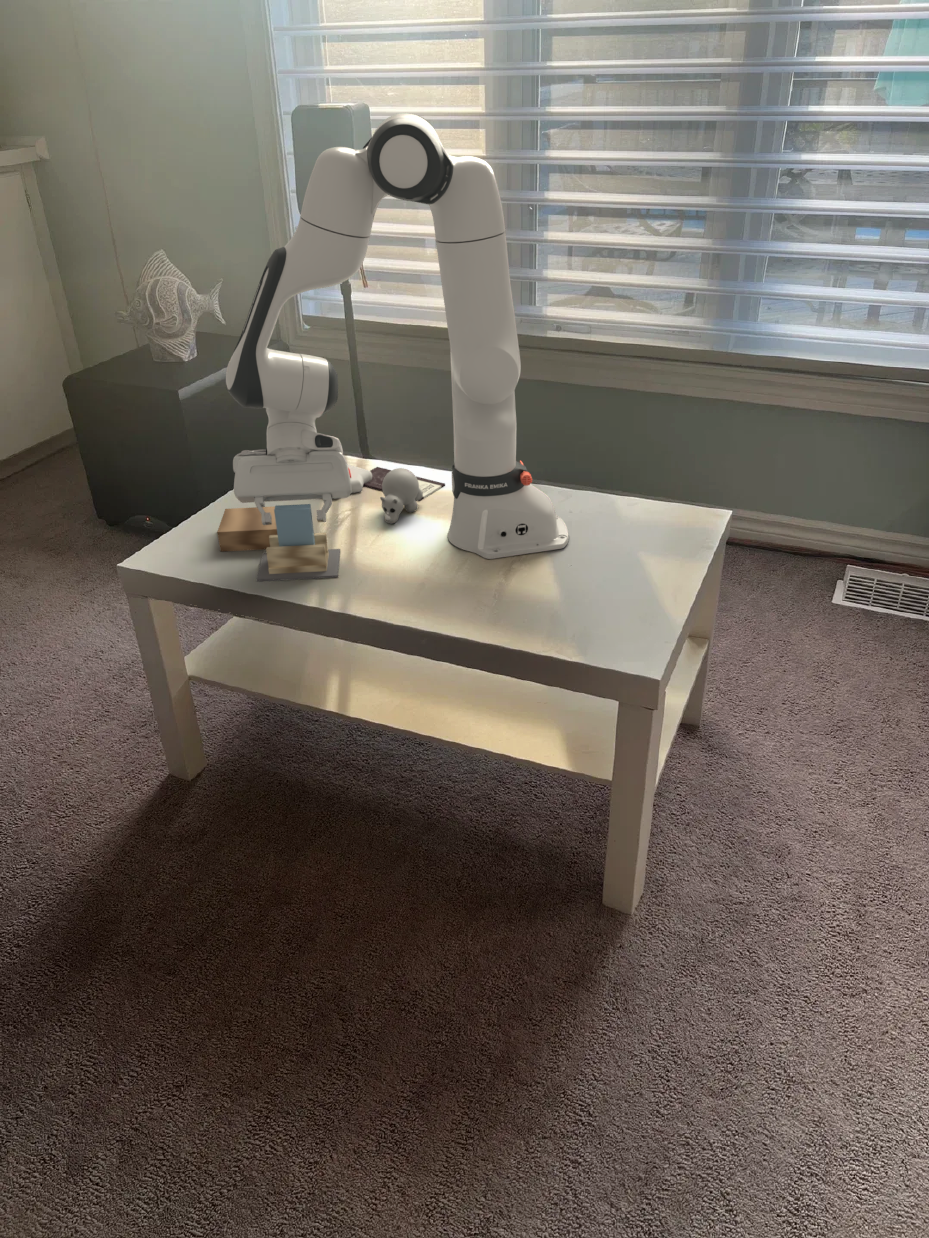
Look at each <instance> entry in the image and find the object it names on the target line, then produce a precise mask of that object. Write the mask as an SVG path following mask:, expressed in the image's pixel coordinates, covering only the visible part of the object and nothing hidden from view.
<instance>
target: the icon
mask: <svg viewBox="0 0 929 1238" xmlns="http://www.w3.org/2000/svg"><path fill="white" fill-rule="evenodd" d="M347 466H348V470H349V474H350V480H351V487H352V493H351V494H354V493H360V492H362V491H363V487H364V486H363V485H364V484H365V483H367V482H369V481H371V480H372V473H371V472H370V470H369V469H365V468H362V467H358V466H355V465H351V464H348V463H347ZM336 499H338V498H333V500H336Z"/></svg>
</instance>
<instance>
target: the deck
mask: <svg viewBox="0 0 929 1238" xmlns="http://www.w3.org/2000/svg"><path fill="white" fill-rule="evenodd" d="M275 506H276V505H275ZM275 506H265V507H262V508H263V510H264V511H265V513H269V512H270V514H271V516H272V520H271V521H272V525H263V524H262V515H261V513H260V511H259V510H258V508H257V507H256V506H255V507H237V508H236V507H235V508H234V507H233V508H232V507H231V508H225V509H224V512H223V514H222V516H221V517H222V518H221V520H220V523H219V525H218V528H217V532H216V533H217V538H218V544H219V551H220V552H241V551H259V550H262V551H263V550H264V551H266V548H267V547H270V542H269V536H270V535H278V534H277V527H276V520H275V513H274V509H275Z"/></svg>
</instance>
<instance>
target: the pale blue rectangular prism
mask: <svg viewBox="0 0 929 1238" xmlns="http://www.w3.org/2000/svg"><path fill="white" fill-rule="evenodd" d="M274 513H275V520H276V527H277V534H278V541H279V547H280V546H300V545H315V538H314V533H315V531H314V523H313V515H312V505H311V503H302V504H282V505H279V504H278V505H277V504H276V505H275V509H274Z"/></svg>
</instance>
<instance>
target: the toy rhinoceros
mask: <svg viewBox="0 0 929 1238" xmlns="http://www.w3.org/2000/svg"><path fill="white" fill-rule="evenodd" d="M416 477H417V475H415V473H413V472H412V471H410V470H409V469H408V468H404V467H403V468H402V467H401V468H400V467H399V468H397V467H396V468H394V469H392V471H390V472H389V473H388V474H387V475H386V476H385V478H384V480H383V483H382V490H383V491H382V493H383V496H384V497H383V496H380V497H379V499H380V501H381V509H382V511H383V512H384V521H385V522H386V523H387V524H391V525H392V524H396V523H397V522H398V521H399V518H400V517H399V516H400V514H401V512H402V511H403V510H405V511H406V512H408V513H413V512H416V511H417V509H418V507H419V505H418V503H417V502H419V501H418V500H420V499H421V498H422V497H423V493H422V491H421V489H420V488H419V483H418V480H417V478H416Z"/></svg>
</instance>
